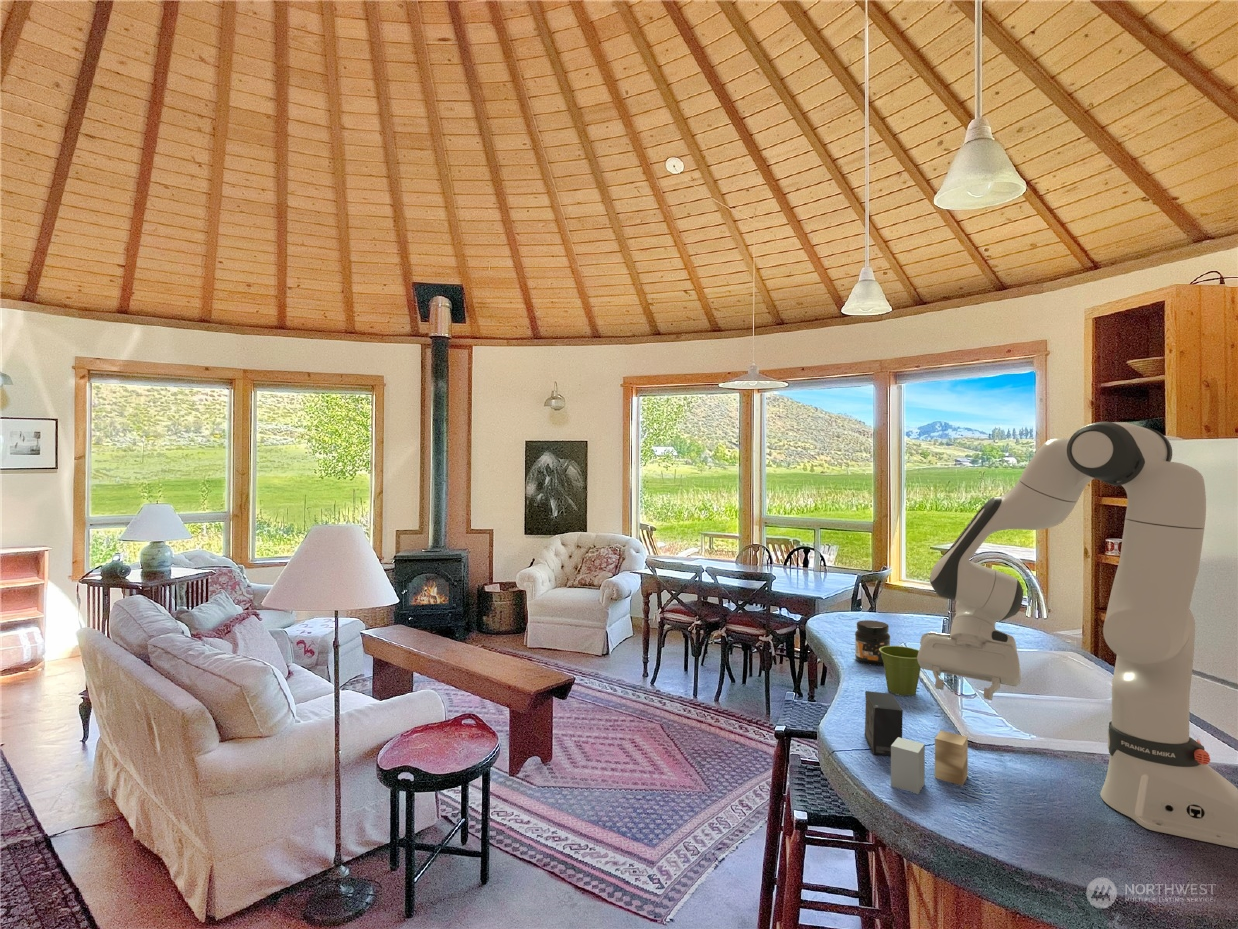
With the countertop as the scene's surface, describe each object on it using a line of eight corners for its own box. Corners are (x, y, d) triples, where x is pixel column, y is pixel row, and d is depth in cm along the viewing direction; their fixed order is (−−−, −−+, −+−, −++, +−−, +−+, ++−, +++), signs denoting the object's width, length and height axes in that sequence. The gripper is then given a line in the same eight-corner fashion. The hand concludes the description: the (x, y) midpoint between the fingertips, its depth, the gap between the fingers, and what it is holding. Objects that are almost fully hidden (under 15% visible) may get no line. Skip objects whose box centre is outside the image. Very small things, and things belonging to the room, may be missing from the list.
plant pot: (928, 702, 169) (928, 660, 169) (880, 697, 173) (880, 655, 173) (922, 687, 180) (922, 647, 180) (877, 682, 184) (877, 643, 184)
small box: (904, 758, 137) (904, 709, 137) (872, 755, 138) (872, 707, 138) (893, 737, 147) (893, 692, 147) (863, 735, 149) (863, 690, 149)
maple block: (967, 776, 129) (967, 736, 129) (962, 785, 125) (962, 745, 125) (940, 768, 132) (940, 730, 132) (934, 778, 128) (934, 738, 128)
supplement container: (848, 660, 204) (848, 623, 204) (864, 654, 211) (864, 618, 211) (880, 668, 196) (881, 630, 196) (896, 661, 203) (896, 624, 203)
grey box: (924, 784, 126) (924, 744, 126) (918, 794, 122) (918, 753, 122) (898, 776, 129) (898, 737, 129) (890, 786, 125) (890, 745, 125)
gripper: (920, 623, 150) (909, 675, 143) (1022, 638, 137) (1015, 696, 130) (925, 638, 154) (914, 689, 146) (1024, 654, 141) (1018, 711, 133)
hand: (962, 693), depth 138 cm, fingers open, 8 cm apart
